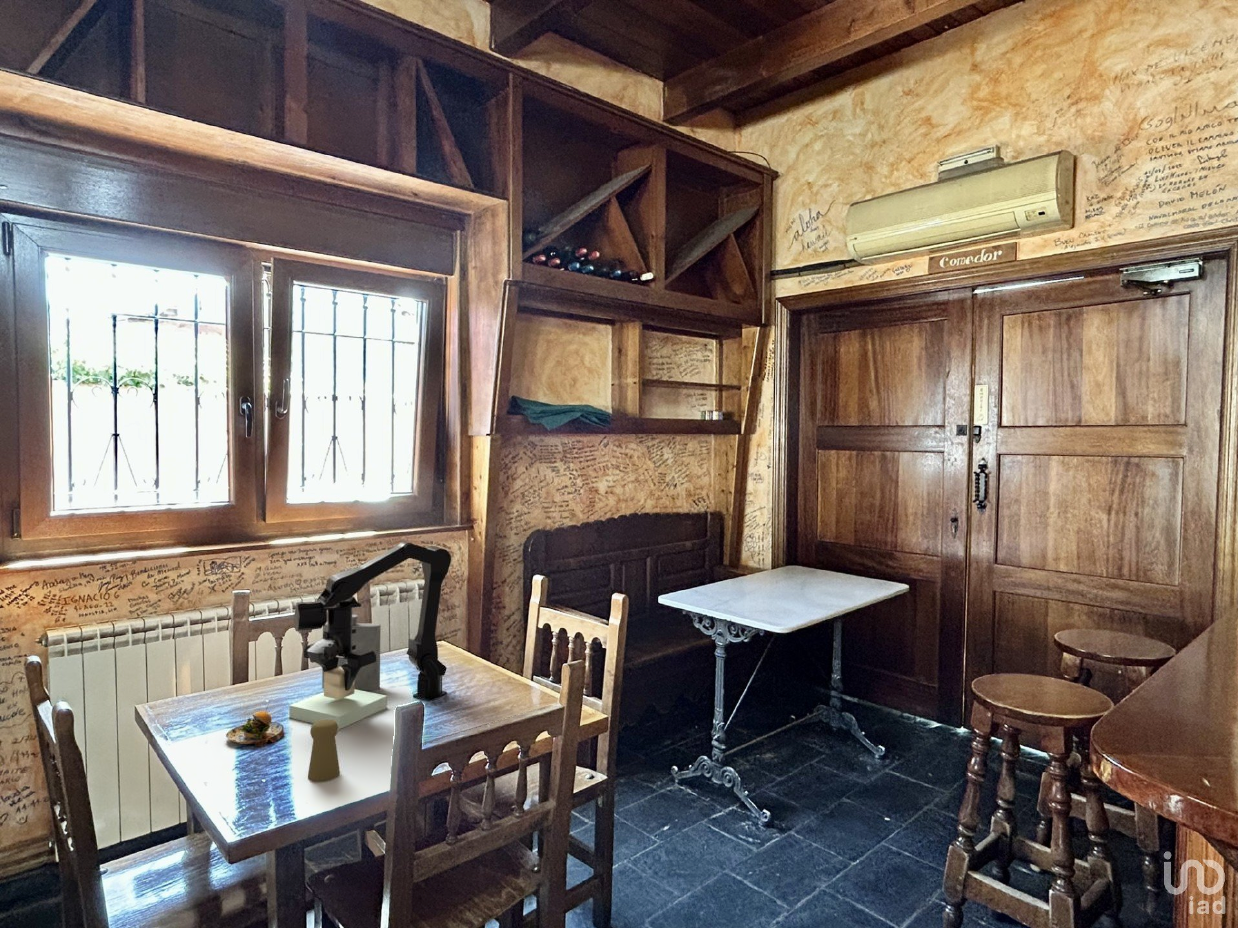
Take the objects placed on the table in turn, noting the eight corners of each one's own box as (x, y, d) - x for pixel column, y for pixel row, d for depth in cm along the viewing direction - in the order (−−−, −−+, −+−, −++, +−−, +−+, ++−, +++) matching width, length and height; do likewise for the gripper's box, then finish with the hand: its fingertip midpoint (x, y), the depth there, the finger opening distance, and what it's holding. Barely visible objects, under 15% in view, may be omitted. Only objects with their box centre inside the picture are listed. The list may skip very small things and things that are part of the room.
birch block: (339, 690, 186) (339, 666, 186) (354, 693, 184) (354, 669, 184) (323, 696, 182) (324, 672, 181) (339, 699, 179) (339, 675, 179)
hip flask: (381, 686, 203) (382, 614, 202) (375, 691, 199) (376, 617, 198) (325, 684, 204) (326, 612, 203) (318, 689, 200) (319, 615, 199)
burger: (228, 732, 170) (228, 700, 170) (284, 725, 175) (284, 694, 174) (223, 753, 159) (223, 718, 159) (283, 745, 164) (283, 712, 163)
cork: (313, 768, 152) (313, 715, 151) (343, 768, 152) (344, 715, 152) (303, 782, 146) (303, 727, 145) (334, 781, 146) (335, 726, 146)
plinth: (339, 697, 194) (339, 685, 193) (386, 707, 187) (386, 695, 187) (289, 717, 179) (289, 705, 179) (339, 729, 172) (339, 716, 172)
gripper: (285, 628, 179) (285, 692, 179) (344, 638, 171) (343, 704, 172) (321, 618, 189) (321, 679, 189) (378, 627, 181) (377, 690, 182)
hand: (339, 688), depth 183 cm, fingers closed on birch block, 5 cm apart
